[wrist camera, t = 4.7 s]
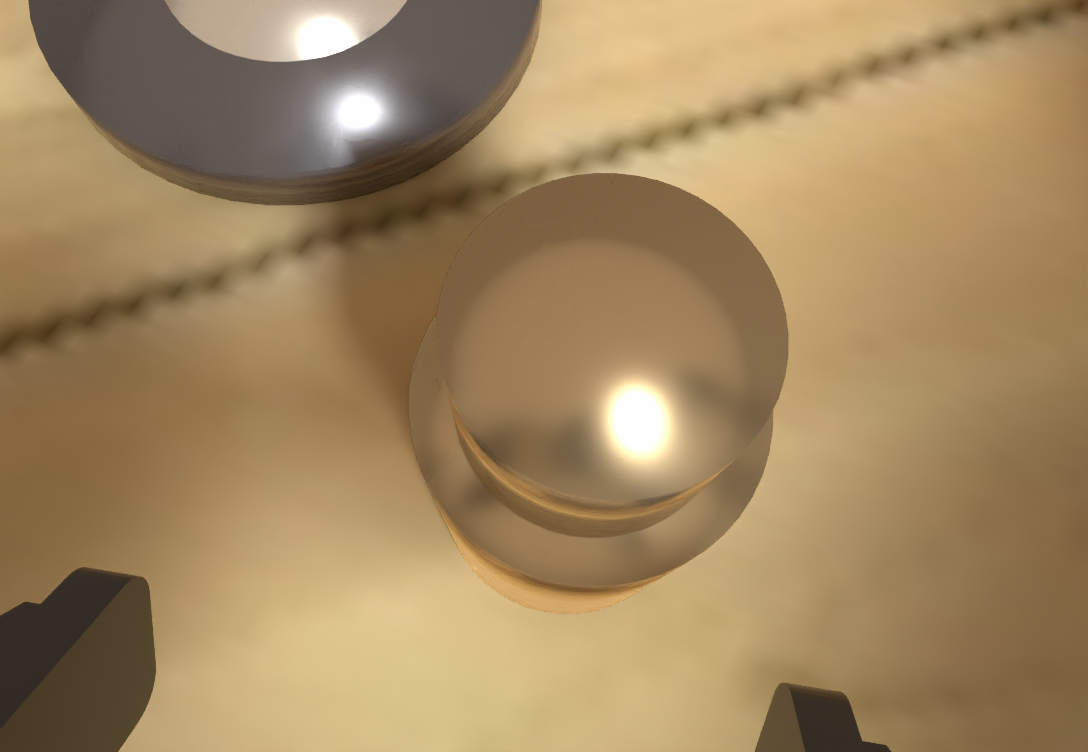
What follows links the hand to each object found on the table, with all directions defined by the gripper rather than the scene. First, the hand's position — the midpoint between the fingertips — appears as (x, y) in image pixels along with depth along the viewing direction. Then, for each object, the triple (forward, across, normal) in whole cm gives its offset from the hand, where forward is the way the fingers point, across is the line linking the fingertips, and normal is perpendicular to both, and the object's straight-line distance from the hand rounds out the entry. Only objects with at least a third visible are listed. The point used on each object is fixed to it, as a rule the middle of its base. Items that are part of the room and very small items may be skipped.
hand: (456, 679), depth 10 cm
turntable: (+18, -9, +7) cm, 21 cm away
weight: (+9, +1, -2) cm, 9 cm away
